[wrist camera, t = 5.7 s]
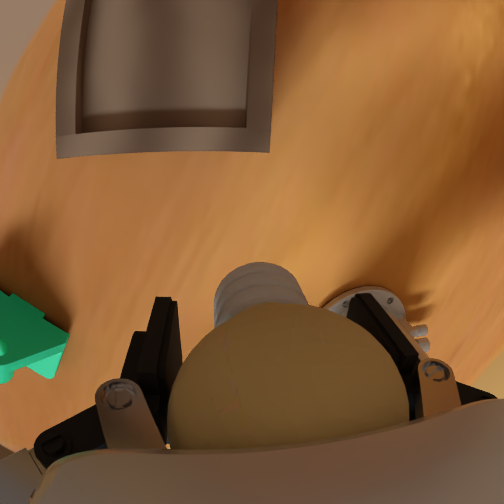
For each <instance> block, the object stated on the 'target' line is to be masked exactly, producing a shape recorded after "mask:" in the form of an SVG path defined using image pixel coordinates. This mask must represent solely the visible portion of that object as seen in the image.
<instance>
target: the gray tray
mask: <svg viewBox="0 0 504 504" xmlns="http://www.w3.org/2000/svg"><path fill="white" fill-rule="evenodd" d="M276 20H277V0H66V4H65V10H64V16H63V23H62V30H61V38H60V47H59V57H58V70H57V87H56V151H57V159H60V158H70V157H80V156H92V155H105V154H120V153H138V152H167V151H237V152H265V153H269V152H270V135H271V117H272V99H273V81H274V61H275V41H276Z"/></svg>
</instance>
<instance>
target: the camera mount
mask: <svg viewBox="0 0 504 504" xmlns="http://www.w3.org/2000/svg"><path fill="white" fill-rule="evenodd" d="M44 316H45V313H43V312H42V311H40V310H39V309H37V308H35V307H34V306H32V305H31V304H29V303H28V302H26V301H24V300H23V299H21V298H20V297H18V296H17V295H15V294H14V293H12V294H11V295H10V297H9V296H7V295H6V294H4V293H3V292H2V291H0V384H2V383H6V382H8V381H9V380H10V379H11V378H12V377H13V374H14V370H16V369H19V368H22V367H24V366H27V367H29V368H30V369H32V370H34V371H35V372H37V373H39V374H40V375H42V376H44V377H46V378H49V379H52V378H53V377H54V376H55V373H56V371H57V369H58V366H59V363H60V360H61V357H62V355H63V352H64V349H65V346H66V344H67V341H68V338H69V335H70V334H68V333H66V332H64V331H63V330H61V329H59V328H58V327H56V326H54V325H53V324H51V323H49V322H48V321H46V320H44Z"/></svg>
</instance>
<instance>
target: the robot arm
mask: <svg viewBox="0 0 504 504" xmlns="http://www.w3.org/2000/svg"><path fill="white" fill-rule="evenodd" d="M323 309H327V310H330V311H332V312H335V313H337V314H339V315H342V316H344V317H346V318H348V319H350V320H351V321H353V322H355V323H356V324H358V325H360V326H361V327H363V328H364V329H365V330H367V331H368V332H369V333H370V334H371V335H372V336H373V337H374V338H375V339H376V340H377V341H378V342H379V343H380V344H381V345H382V346H383V347H384V348H385V350H386V351H387V352H388V353H389V354H390V356H391V358H392V359H393V361H394V363H395V365H396V367H397V369H398V371H399V373H400V375H401V378H402V380H403V383H404V385H405V388H406V392H407V397H408V402H409V421H408V422H405V423H401V424H397V425H393V426H389V427H385V428H381V429H376V430H372V431H367V432H363V433H358V434H353V435H348V436H342V437H337V438H331V439H325V440H318V441H311V442H304V443H296V444H288V445H278V446H267V447H255V448H238V449H197V450H184V449H167V448H166V446H165V445H166V444H170V443H169V439H168V434H167V412H168V402H169V398H170V393H171V389H172V386H173V384H174V381H175V379H176V377H177V374H178V372H179V370H180V368H181V365H182V350H181V340H180V330H179V318H178V306H177V301H172V299H171V297H156V298H155V302H154V305H153V309H152V312H151V316H150V319H149V323H148V327H147V331H135V332H134V334H133V336H132V339H131V343H130V346H129V349H128V352H127V356H126V359H125V363H124V366H123V369H122V373H121V376H120V378H119V379H112V380H109V381H106V382H105V383H103V384H102V385H101V386H100V387H99V388H98V389H97V391H96V393H95V402H96V404H95V405H94V406H92V407H90V408H88V409H86V410H84V411H82V412H80V413H79V414H77V415H75V416H73V417H71V418H69V419H67V420H65V421H63V422H61V423H59V424H57V425H55V426H53V427H51V428H50V429H48V430H46V431H44V432H43V433H41V434H40V435H39V436H38V437H37V439H36V441H35V443H34V448H32V449H30V450H27V449H26V448H24V449H22V450H20V451H18V452H16V453H14V454H12V455H10V456H8V457H6V458H4V459H2V460H0V504H504V399H498V398H497V397H495V396H494V395H492V394H490V393H488V392H485V391H482V390H479V389H476V388H474V387H471V386H468V385H465V384H462V383H459V382H457V381H456V380H455V377H454V373H453V371H452V368H451V367H450V366H449V365H448V364H446V363H445V362H443V361H441V360H439V359H434V358H429V357H428V355H427V354H426V353H425V352H427V351H428V350H429V348H430V343H429V340H428V339H427V338H426V337H425V338H420V339H414V337H415V336H416V337H418V336H424V335H426V334H427V333H428V327H427V325H425V324H423V325H417V326H413V327H412V326H411V325H410V324H409V323H408V322H407V320H406V313H405V308H404V306H403V304H402V302H401V301H400V299H399V298H398V297H397V296H396V295H395V294H394V293H392V292H391V291H390V290H388V289H385V288H383V287H377V286H363V287H359V288H355V289H352V290H349V291H347V292H345V293H343V294H341V295H339V296H337V297H336V298H334V299H333V300H331V301H330V302H329V303H328V304H326V305H325V306H324V307H323Z"/></svg>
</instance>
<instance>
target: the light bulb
mask: <svg viewBox="0 0 504 504" xmlns="http://www.w3.org/2000/svg"><path fill="white" fill-rule="evenodd" d="M214 324H215V328H214V329H213V330H212V331H211V332H210V333H208V334H207V335H206V336H205V337H204V338H203V339H202V340H201V341H200V342H199V343H198V344H197V345H196V346H195V348H194V349H193V350H192V351H191V353H190V354H189V355H188V357H187V358H186V360H185V361H184V362H183V364H182V365H181V368H180V370H179V372H178V374H177V377H176V379H175V381H174V384H173V386H172V389H171V393H170V398H169V402H168V412H167V434H168V439H169V443H170V448H171V449H184V450H197V449H238V448H255V447H267V446H278V445H288V444H296V443H304V442H311V441H318V440H325V439H331V438H337V437H342V436H348V435H353V434H358V433H363V432H367V431H372V430H376V429H381V428H385V427H389V426H393V425H397V424H401V423H405V422H408V421H409V402H408V397H407V392H406V388H405V385H404V383H403V380H402V378H401V375H400V373H399V371H398V369H397V367H396V365H395V363H394V361H393V359H392V358H391V356H390V354H389V353H388V352H387V351H386V350H385V348H384V347H383V346H382V345H381V344H380V343H379V342H378V341H377V340H376V339H375V338H374V337H373V336H372V335H371V334H370V333H369V332H368V331H367V330H365V329H364V328H363V327H361V326H360V325H358V324H356V323H355V322H353V321H351V320H350V319H348V318H346V317H344V316H342V315H339V314H337V313H335V312H332V311H330V310H327V309H323V308H319V307H315V306H311V305H309V304H308V302H307V300H306V298H305V296H304V294H303V292H302V290H301V288H300V286H299V284H298V282H297V280H296V279H295V277H294V276H293V275H292V274H291V273H290V272H289V271H287V270H286V269H284V268H282V267H281V266H278V265H275V264H271V263H266V262H254V263H249V264H246V265H243V266H241V267H238V268H236V269H235V270H233V271H232V272H230V273H229V274H228V275H227V276H226V277H225V278H224V279H223V280H222V281H221V283H220V285H219V286H218V288H217V291H216V293H215V298H214Z"/></svg>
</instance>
